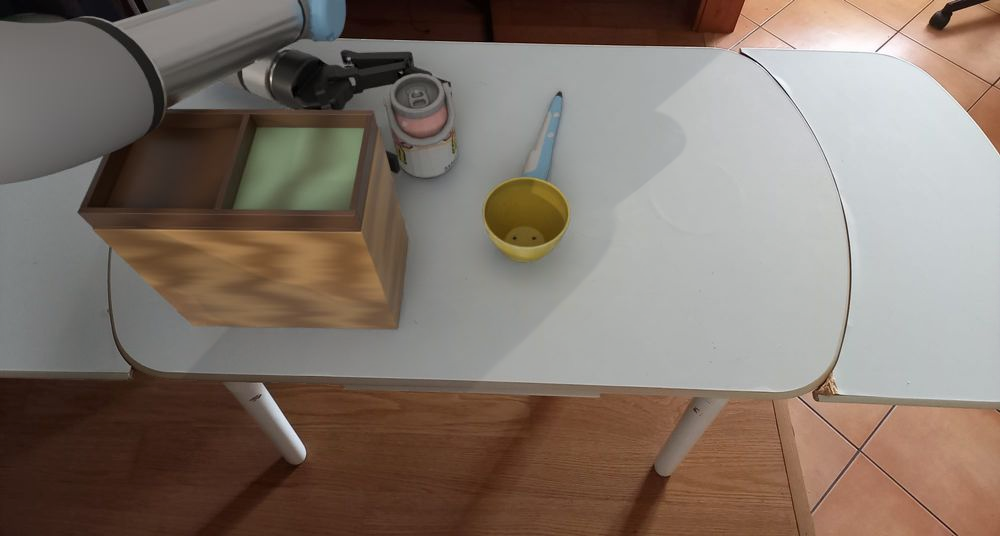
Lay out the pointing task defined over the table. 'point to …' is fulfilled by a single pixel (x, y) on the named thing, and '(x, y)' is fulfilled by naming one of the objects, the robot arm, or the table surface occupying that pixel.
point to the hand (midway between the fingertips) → (425, 126)
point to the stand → (281, 268)
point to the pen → (544, 143)
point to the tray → (239, 172)
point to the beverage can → (422, 124)
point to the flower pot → (526, 217)
